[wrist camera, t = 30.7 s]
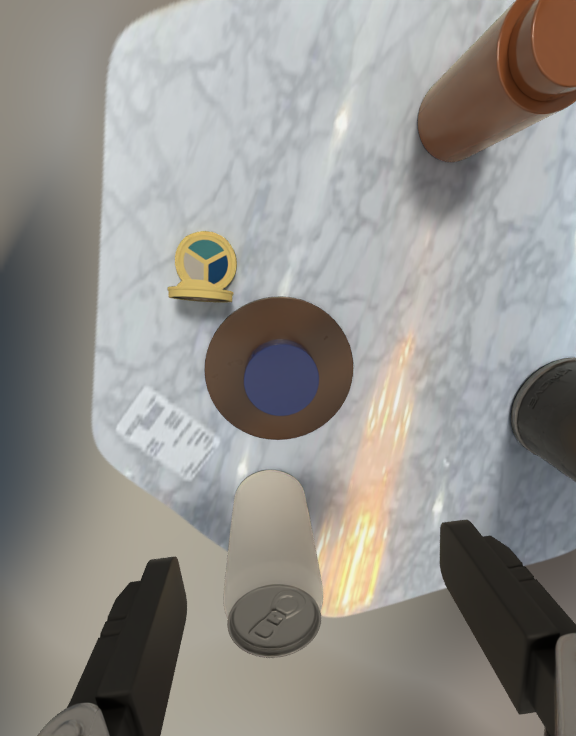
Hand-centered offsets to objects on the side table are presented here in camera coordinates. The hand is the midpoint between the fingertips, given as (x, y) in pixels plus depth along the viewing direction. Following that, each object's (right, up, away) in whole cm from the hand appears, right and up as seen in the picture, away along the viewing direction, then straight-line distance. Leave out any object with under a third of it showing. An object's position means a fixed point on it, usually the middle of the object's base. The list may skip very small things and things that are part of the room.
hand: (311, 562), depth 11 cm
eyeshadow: (-7, +13, +16) cm, 22 cm away
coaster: (-1, +6, +19) cm, 20 cm away
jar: (+11, +23, +15) cm, 30 cm away
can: (-2, -6, +22) cm, 23 cm away
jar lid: (-1, +5, +17) cm, 18 cm away
